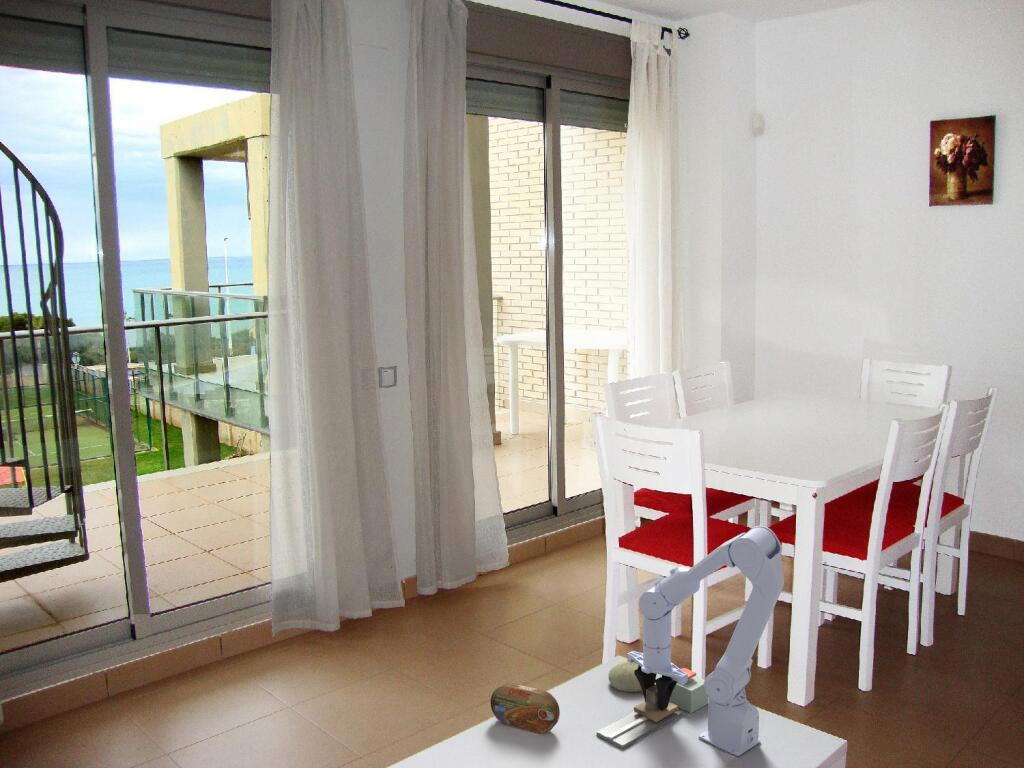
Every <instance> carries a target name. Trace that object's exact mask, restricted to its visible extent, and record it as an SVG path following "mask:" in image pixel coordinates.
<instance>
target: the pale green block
mask: <svg viewBox="0 0 1024 768" xmlns="http://www.w3.org/2000/svg"><path fill="white" fill-rule="evenodd" d="M704 681H705V678H704V679H703V678H701V677H699V676H697V675H696V676H694V677H692V682H690V683H688V684H684V685H679V684H678V683H677V684H676V686H675V688H674V690H673V692H672V694H671V697H670V700H669V702H670V703H672V704H675V705H677V706H678V709H681V710H682V711H686V712H688V713H690V714H692V713H694V712H695V711H697V710H699V709H701V708H702V707H704V706H706V705H708V704H709V697H708V696H707V694H706V692H705V689H704Z"/></svg>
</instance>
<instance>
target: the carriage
mask: <svg viewBox="0 0 1024 768" xmlns="http://www.w3.org/2000/svg"><path fill="white" fill-rule="evenodd" d="M678 710H679V707H678V706H677V705H675V704H672V703H670V702H669V704H668V707H667V708H665V709H663V710H660V709H659V704H658V690H657V686H656V684H655V685H654V686H652V687H650V688H648V689H646V703H645V700H644V701H642V702H641V703H638V704H637V705H635V706H634V707H633V712H636V713H638V714H640V715H642V716H644V717H646V718H648V719H651V720H653V721H655V722H658V721H660V720H661V719H663V718H665V717H667V716H669V715H671V714H672V713H674V712H676V711H678Z"/></svg>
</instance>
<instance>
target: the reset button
mask: <svg viewBox="0 0 1024 768" xmlns="http://www.w3.org/2000/svg"><path fill="white" fill-rule="evenodd" d="M680 669H681V670H682V671H683V672H685V673H687V674H688V682H687V683H686V684H688V683H690V682H692V677H694V676H697V672H695V671H693V670H691V669H688V668H686V667H682V668H680Z"/></svg>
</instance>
